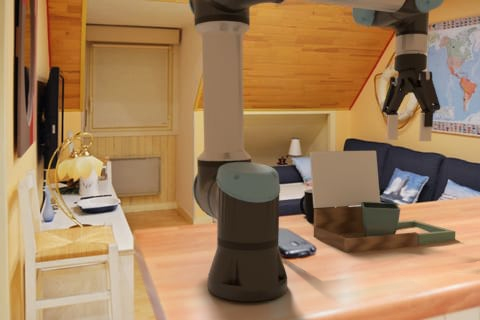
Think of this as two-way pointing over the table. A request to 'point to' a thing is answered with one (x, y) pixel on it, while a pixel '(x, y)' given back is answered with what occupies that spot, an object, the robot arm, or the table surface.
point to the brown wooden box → (354, 231)
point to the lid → (344, 178)
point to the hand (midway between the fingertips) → (407, 140)
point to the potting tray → (429, 232)
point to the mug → (308, 205)
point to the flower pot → (380, 218)
